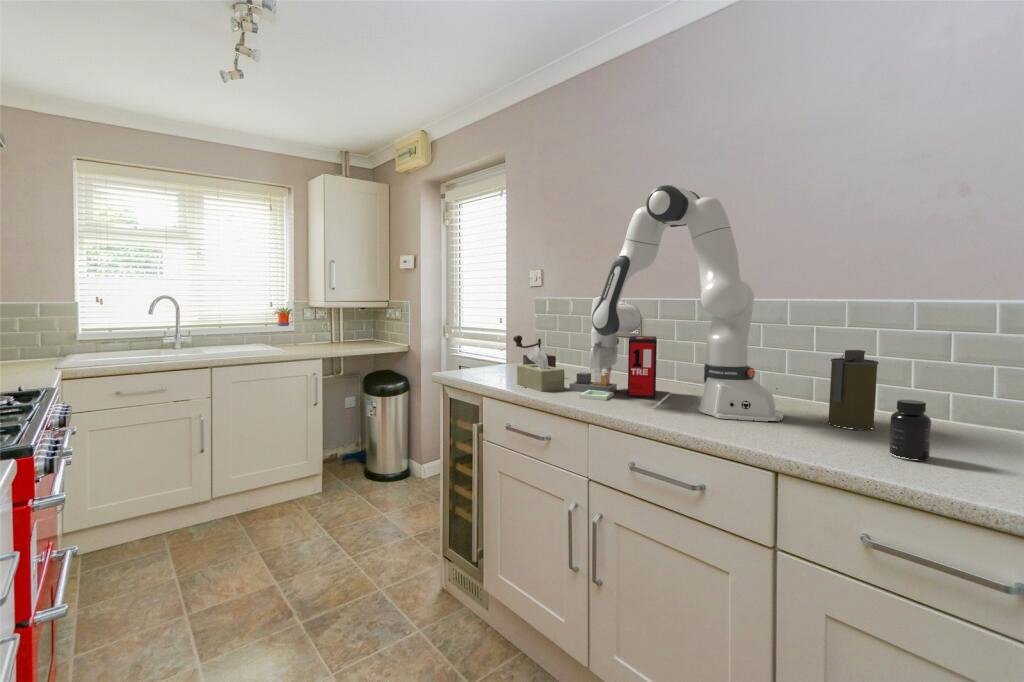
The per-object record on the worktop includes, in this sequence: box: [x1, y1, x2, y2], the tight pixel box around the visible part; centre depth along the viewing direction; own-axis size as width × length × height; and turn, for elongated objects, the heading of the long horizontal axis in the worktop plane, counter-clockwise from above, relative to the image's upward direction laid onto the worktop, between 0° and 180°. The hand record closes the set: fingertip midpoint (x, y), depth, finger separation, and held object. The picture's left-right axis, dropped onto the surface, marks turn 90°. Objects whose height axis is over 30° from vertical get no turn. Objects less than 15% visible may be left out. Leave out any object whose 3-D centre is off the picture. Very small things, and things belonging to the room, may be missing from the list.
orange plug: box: [594, 373, 611, 386], centre depth 182 cm, size 4×4×6 cm
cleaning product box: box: [627, 335, 658, 400], centre depth 177 cm, size 16×9×20 cm, turn 165°
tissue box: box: [516, 346, 565, 393], centre depth 191 cm, size 19×10×16 cm, turn 28°
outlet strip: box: [568, 380, 618, 393], centre depth 183 cm, size 15×8×3 cm, turn 62°
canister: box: [827, 349, 880, 429], centre depth 135 cm, size 11×10×20 cm
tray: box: [579, 390, 615, 401], centre depth 172 cm, size 9×9×2 cm
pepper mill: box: [512, 334, 557, 368], centre depth 216 cm, size 16×11×18 cm
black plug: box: [576, 371, 592, 385], centre depth 185 cm, size 4×4×6 cm
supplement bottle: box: [888, 399, 932, 461], centre depth 109 cm, size 7×7×12 cm
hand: (603, 379), depth 181 cm, fingers open, 8 cm apart
